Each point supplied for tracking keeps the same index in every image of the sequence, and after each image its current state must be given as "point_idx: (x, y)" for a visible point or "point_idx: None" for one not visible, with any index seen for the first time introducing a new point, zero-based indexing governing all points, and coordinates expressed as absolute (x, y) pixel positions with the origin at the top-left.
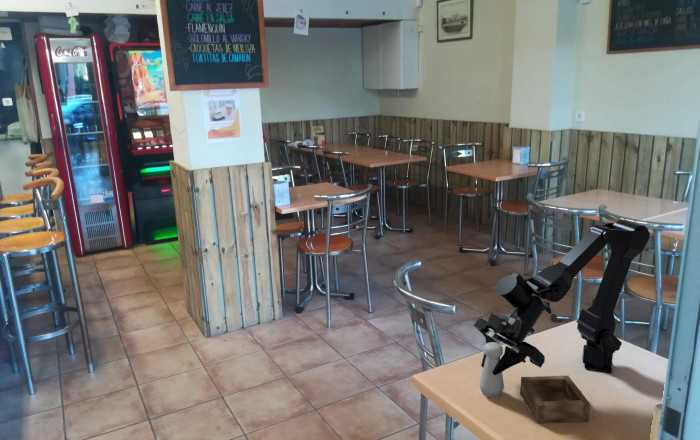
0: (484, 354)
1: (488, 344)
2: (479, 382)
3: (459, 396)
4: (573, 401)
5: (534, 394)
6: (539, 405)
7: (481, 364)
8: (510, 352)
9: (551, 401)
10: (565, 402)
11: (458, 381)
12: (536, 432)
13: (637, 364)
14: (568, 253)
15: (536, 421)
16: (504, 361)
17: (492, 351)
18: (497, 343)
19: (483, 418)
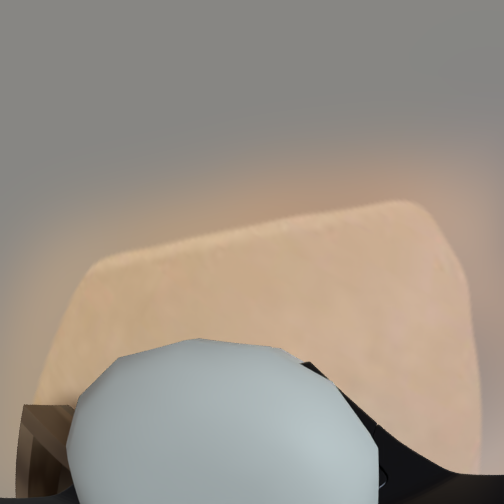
0: (355, 412)
1: (268, 452)
2: (296, 358)
3: (293, 268)
4: (25, 496)
5: (65, 455)
6: (23, 406)
7: (311, 363)
8: (15, 501)
9: (29, 455)
10: (23, 478)
11: (387, 315)
12: (49, 370)
13: None
14: None
15: (71, 408)
16: None
17: (97, 382)
18: None
19: (148, 276)
